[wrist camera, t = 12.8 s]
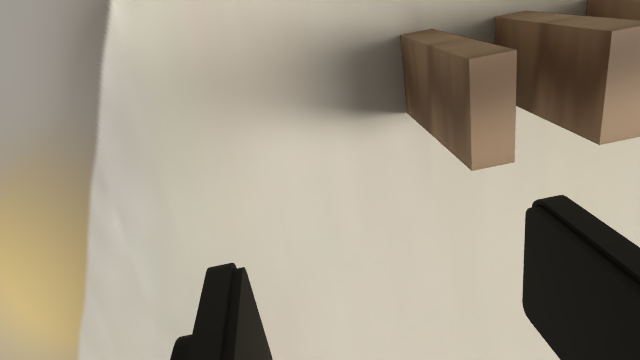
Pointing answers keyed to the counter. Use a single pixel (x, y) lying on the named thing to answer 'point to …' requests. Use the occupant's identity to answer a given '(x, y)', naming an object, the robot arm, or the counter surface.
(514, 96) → the domino
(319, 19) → the counter surface
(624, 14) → the domino
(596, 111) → the domino
